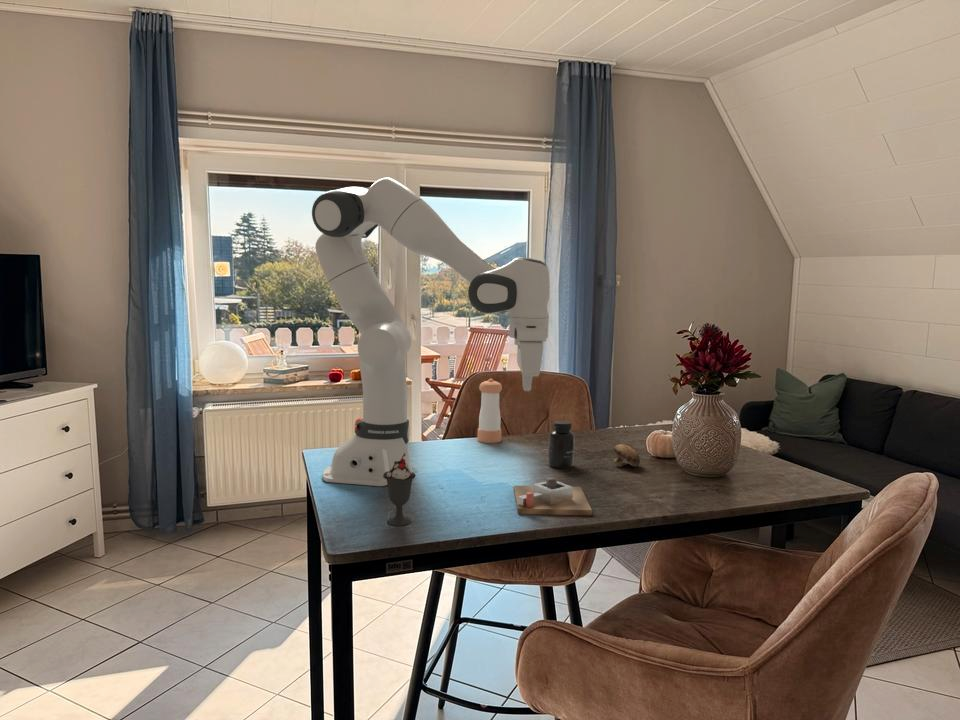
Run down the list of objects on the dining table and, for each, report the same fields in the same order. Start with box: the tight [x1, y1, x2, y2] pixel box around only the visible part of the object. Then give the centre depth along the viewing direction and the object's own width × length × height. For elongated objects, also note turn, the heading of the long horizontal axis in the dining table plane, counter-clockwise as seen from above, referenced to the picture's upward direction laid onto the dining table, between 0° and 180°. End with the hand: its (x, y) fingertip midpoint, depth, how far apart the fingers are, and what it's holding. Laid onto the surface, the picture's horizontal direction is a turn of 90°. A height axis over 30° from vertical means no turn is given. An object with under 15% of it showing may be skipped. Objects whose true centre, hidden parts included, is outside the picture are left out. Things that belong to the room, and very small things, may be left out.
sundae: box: [383, 453, 417, 527], centre depth 144 cm, size 7×7×15 cm
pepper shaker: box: [477, 378, 503, 444], centre depth 213 cm, size 7×7×19 cm
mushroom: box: [613, 443, 641, 468], centre depth 190 cm, size 8×8×6 cm
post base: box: [513, 476, 593, 516], centre depth 159 cm, size 16×16×6 cm
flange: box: [518, 480, 574, 507], centre depth 156 cm, size 12×6×3 cm, turn 125°
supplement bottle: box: [547, 420, 575, 469], centre depth 188 cm, size 7×7×12 cm
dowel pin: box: [526, 492, 534, 508], centre depth 152 cm, size 2×2×3 cm
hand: (526, 390), depth 160 cm, fingers closed
